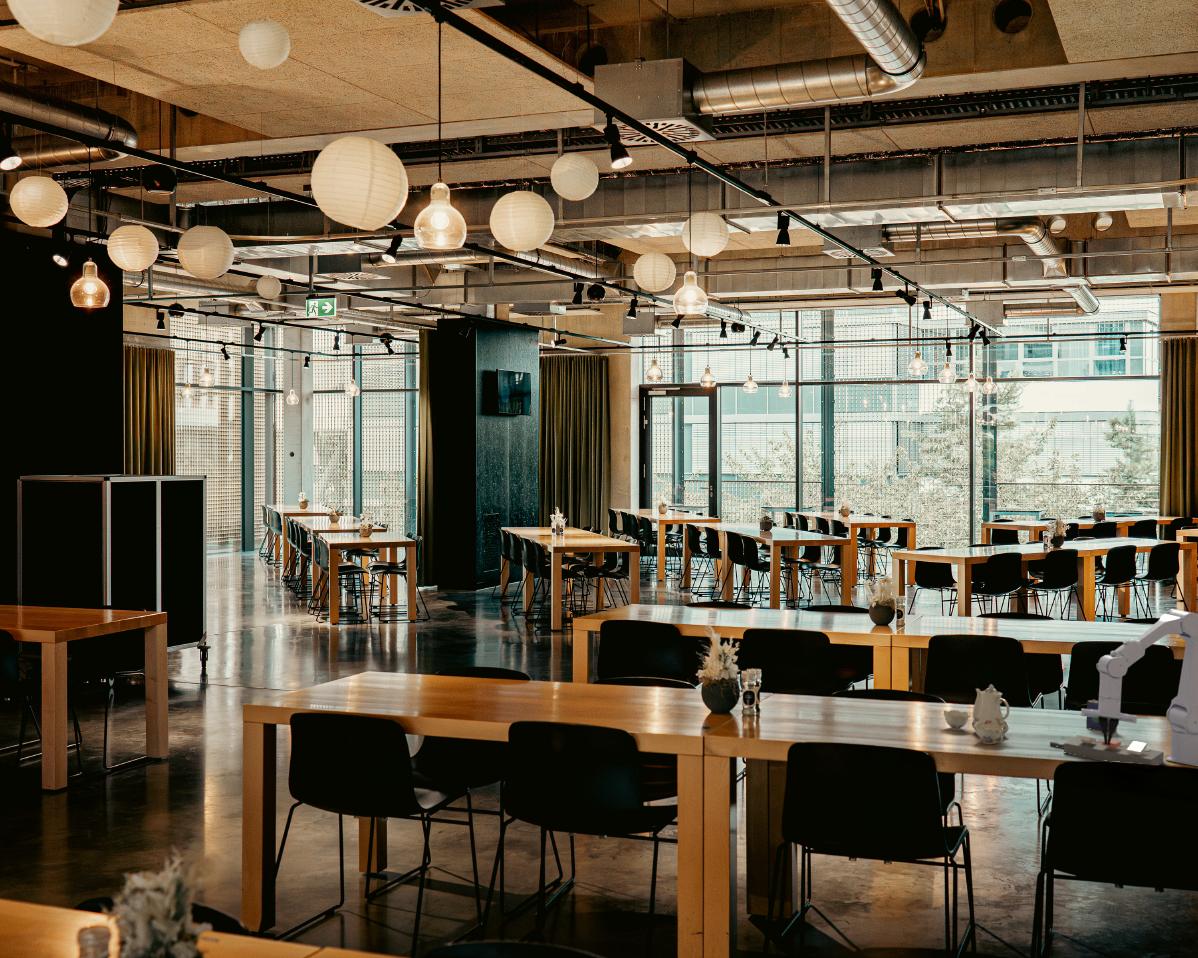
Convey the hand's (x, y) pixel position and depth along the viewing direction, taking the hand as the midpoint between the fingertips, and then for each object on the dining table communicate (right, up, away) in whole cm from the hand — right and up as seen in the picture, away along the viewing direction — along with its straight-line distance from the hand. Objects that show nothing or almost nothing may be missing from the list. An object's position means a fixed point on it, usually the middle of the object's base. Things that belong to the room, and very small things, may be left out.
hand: (1107, 744), depth 313 cm
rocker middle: (+2, -2, +3) cm, 4 cm away
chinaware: (-27, -4, +28) cm, 39 cm away
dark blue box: (+16, -5, +39) cm, 42 cm away
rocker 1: (-3, -1, +7) cm, 8 cm away
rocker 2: (+8, -2, -2) cm, 8 cm away
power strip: (+1, -5, +6) cm, 8 cm away
